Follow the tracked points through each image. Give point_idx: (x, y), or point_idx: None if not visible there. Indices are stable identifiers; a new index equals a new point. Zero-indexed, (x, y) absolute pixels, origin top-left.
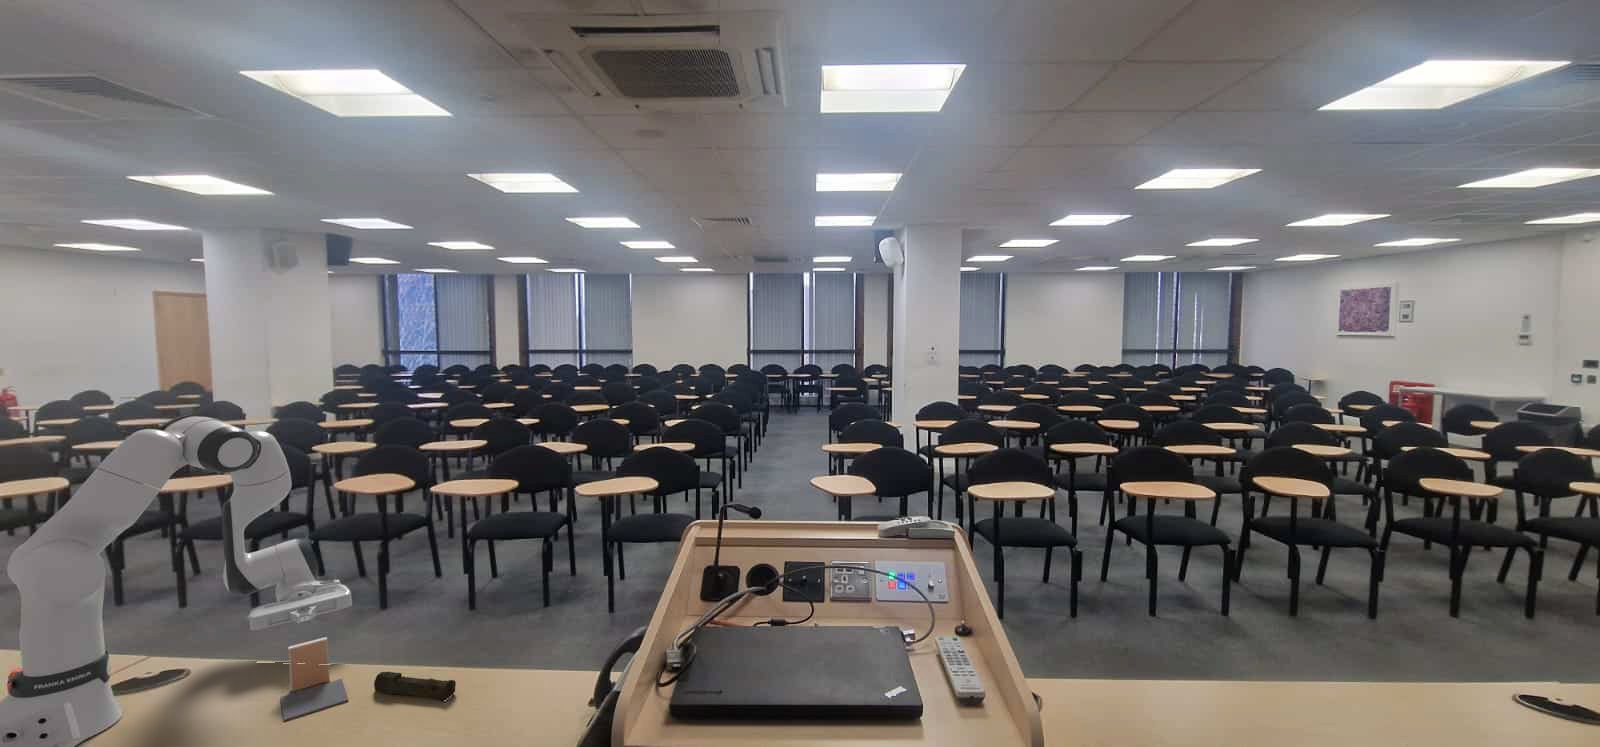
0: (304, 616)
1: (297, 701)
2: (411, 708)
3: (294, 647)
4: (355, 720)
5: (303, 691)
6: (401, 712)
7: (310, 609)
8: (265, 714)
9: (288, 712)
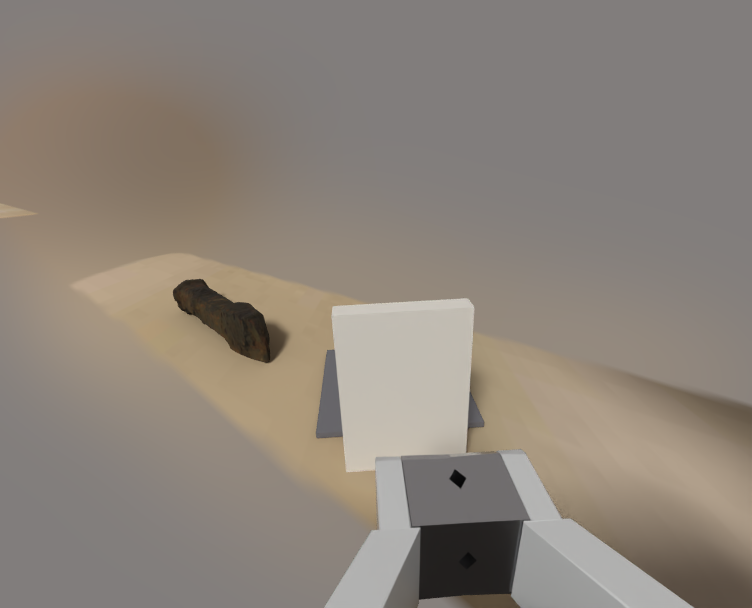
0: (448, 457)
1: None
2: None
3: (448, 300)
4: None
5: None
6: (269, 306)
7: (389, 580)
8: (498, 380)
9: None
